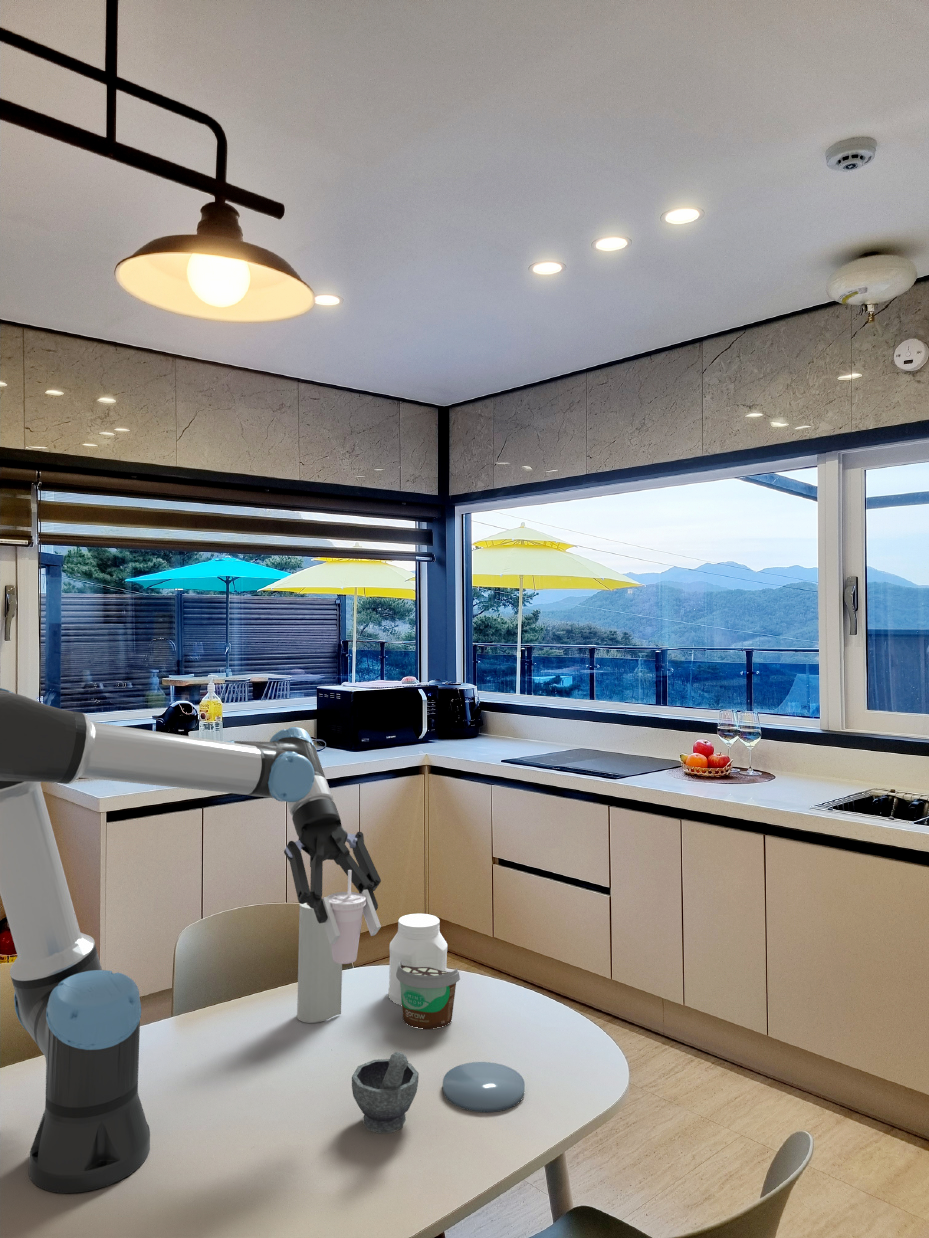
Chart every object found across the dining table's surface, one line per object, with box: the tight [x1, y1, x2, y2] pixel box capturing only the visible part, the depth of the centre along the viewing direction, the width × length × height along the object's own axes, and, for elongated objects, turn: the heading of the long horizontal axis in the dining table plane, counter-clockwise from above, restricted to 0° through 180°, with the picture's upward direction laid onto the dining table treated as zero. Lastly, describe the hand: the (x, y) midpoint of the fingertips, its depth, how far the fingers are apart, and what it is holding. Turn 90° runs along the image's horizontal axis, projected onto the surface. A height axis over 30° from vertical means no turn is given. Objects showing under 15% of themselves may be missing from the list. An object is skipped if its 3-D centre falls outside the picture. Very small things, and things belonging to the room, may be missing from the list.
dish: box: [442, 1061, 526, 1113], centre depth 139 cm, size 13×13×1 cm
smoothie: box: [326, 870, 366, 965], centre depth 137 cm, size 6×6×14 cm
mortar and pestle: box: [351, 1051, 419, 1134], centre depth 129 cm, size 11×9×12 cm
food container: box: [396, 961, 461, 1030], centre depth 161 cm, size 12×6×10 cm, turn 73°
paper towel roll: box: [296, 903, 343, 1024], centre depth 163 cm, size 7×6×21 cm
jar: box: [387, 913, 448, 1006], centre depth 174 cm, size 12×10×15 cm
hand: (355, 935), depth 134 cm, fingers closed on smoothie, 6 cm apart
